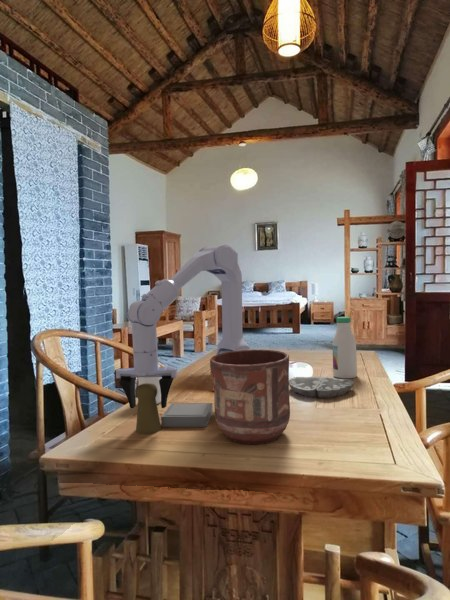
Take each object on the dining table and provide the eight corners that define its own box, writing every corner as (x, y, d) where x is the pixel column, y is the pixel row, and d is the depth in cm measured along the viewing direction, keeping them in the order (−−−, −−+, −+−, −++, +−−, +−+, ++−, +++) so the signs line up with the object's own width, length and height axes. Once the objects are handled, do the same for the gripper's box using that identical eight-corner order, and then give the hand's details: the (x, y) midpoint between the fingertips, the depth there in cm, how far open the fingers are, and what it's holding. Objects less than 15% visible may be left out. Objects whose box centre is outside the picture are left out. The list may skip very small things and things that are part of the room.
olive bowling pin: (149, 435, 105) (146, 388, 104) (130, 431, 108) (127, 386, 107) (166, 427, 110) (164, 382, 109) (147, 423, 113) (145, 380, 112)
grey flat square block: (212, 412, 120) (212, 402, 120) (206, 426, 109) (205, 416, 109) (172, 412, 121) (171, 403, 121) (161, 426, 110) (161, 416, 110)
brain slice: (280, 399, 130) (280, 388, 130) (293, 384, 146) (293, 375, 146) (351, 403, 123) (351, 392, 123) (356, 387, 139) (356, 377, 139)
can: (157, 406, 128) (155, 364, 127) (136, 405, 129) (133, 364, 128) (165, 399, 134) (163, 359, 133) (144, 399, 136) (142, 359, 135)
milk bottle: (359, 374, 154) (358, 316, 152) (353, 380, 147) (351, 318, 146) (337, 372, 158) (335, 315, 156) (330, 377, 151) (328, 318, 150)
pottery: (216, 422, 112) (212, 350, 110) (287, 420, 111) (285, 347, 110) (211, 452, 94) (207, 366, 93) (297, 449, 93) (293, 363, 92)
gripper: (109, 354, 105) (113, 412, 106) (171, 353, 103) (174, 412, 104) (120, 349, 112) (123, 403, 113) (178, 348, 110) (180, 403, 111)
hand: (148, 407), depth 109 cm, fingers open, 7 cm apart
